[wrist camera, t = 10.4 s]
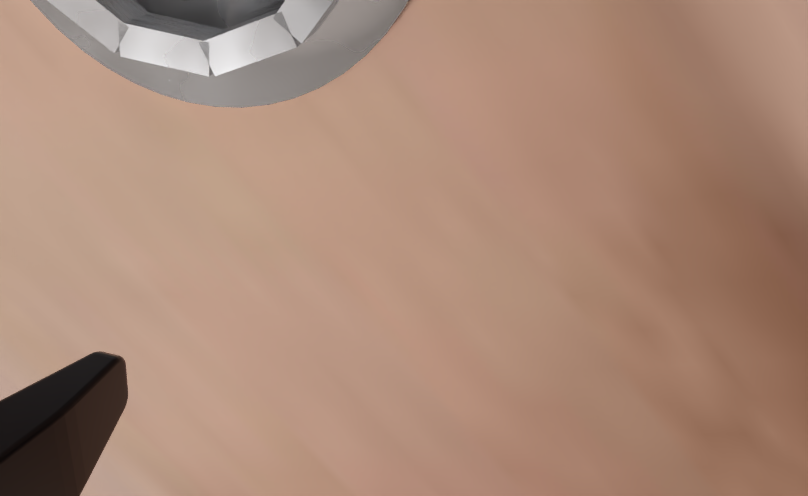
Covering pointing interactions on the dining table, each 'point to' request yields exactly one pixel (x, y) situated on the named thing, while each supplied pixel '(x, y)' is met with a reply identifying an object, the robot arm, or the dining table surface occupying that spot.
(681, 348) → the dining table surface
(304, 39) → the duct flange
